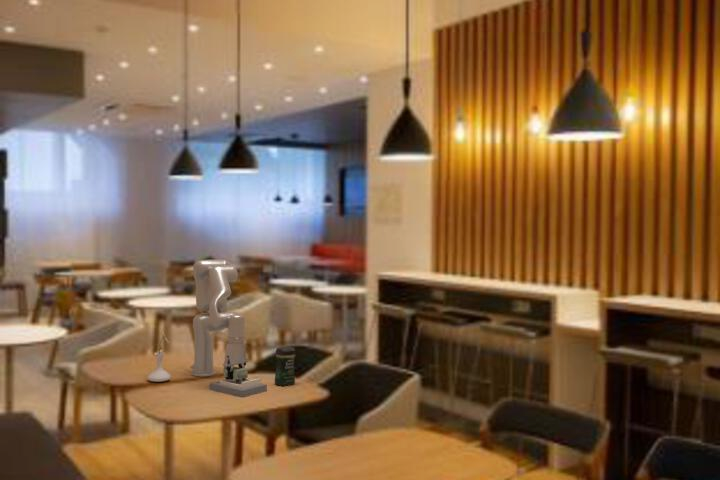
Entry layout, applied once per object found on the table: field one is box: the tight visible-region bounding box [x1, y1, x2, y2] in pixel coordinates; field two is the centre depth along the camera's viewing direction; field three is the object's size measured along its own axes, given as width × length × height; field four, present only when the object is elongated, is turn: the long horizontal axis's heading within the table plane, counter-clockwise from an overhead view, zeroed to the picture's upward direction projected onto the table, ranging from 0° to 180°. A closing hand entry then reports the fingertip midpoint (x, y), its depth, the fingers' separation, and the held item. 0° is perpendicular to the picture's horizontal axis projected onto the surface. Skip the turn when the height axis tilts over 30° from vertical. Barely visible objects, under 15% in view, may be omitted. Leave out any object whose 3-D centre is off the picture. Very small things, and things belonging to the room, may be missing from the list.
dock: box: [209, 378, 268, 398], centre depth 346 cm, size 22×16×6 cm
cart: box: [223, 364, 249, 382], centre depth 347 cm, size 10×6×7 cm, turn 53°
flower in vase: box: [147, 329, 172, 383], centre depth 362 cm, size 13×11×25 cm
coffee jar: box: [274, 346, 296, 387], centre depth 360 cm, size 10×8×19 cm
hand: (235, 377), depth 347 cm, fingers closed on cart, 6 cm apart
